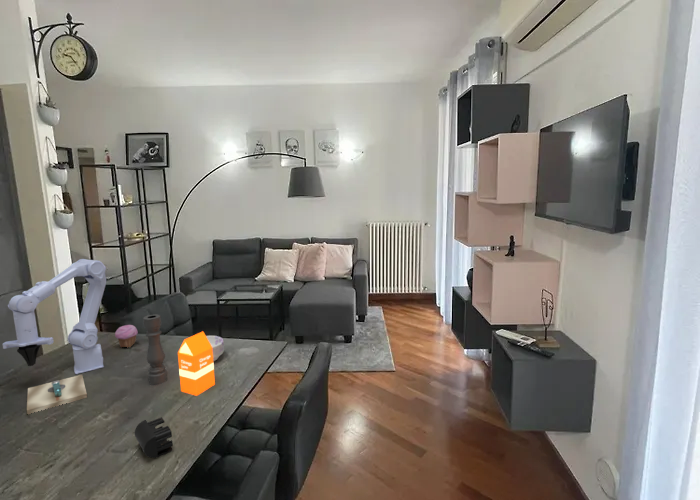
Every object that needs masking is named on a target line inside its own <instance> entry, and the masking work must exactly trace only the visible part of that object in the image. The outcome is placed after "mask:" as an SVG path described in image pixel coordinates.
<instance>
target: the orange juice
mask: <svg viewBox="0 0 700 500" xmlns="http://www.w3.org/2000/svg"><path fill="white" fill-rule="evenodd" d="M206 336H207V335H206V334H205V332H204V331H203V330H202V331H201V332H197V333H196V334H194V335H191V336H190V337H187V338H184V340H183V341H182V343H181V345H180V348H179V349H178V351H177V360H178V361H177V362H178V372H179V380H180V381H179V382H180V392H182V393H185V394H189V395H192V396H196V397H198V396H199V395H200V394H202V393H204V392H205V391H207V390H208V389H210V388H211V387H213V386H215V385H216V382H215V381H216V380H215V379H216V378H215V364H214V362H215V361H213V350H212V346H211V344H210V343H209V341H208V339H207V337H206Z"/></svg>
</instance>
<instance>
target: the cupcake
mask: <svg viewBox="0 0 700 500" xmlns="http://www.w3.org/2000/svg"><path fill="white" fill-rule="evenodd" d="M114 332H115V333H114V337H115V338H116V339H117V341H118V344H119V346H120V348H122V347H127V349H129V348H128V347H130V348H131V346H132V345H133V344H134V345H135V343H136V341H137V335H138V329H137V327H136V326H135V325H133V324H125V325H122V326H119V327H118V328H117V329H116V331H114ZM134 345H133V346H134ZM133 346H132V347H133Z"/></svg>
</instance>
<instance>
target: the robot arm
mask: <svg viewBox="0 0 700 500" xmlns="http://www.w3.org/2000/svg"><path fill="white" fill-rule="evenodd" d="M106 269H107V267H106V266H105V264H104V263H103V262H102V261H101V260H99V259H98V260H96V259H86V258H80V259H78V260H77V261H75V262H73V263H71V265H70V266H68V267H67V268H66V269H63V271H61V272H60V273H58V274H57V275H56V276H54V277H53V278H51V279H50V280H49V281H47V280H46V281H45V280H42V281H37V282H36V283H35V285H33V287H31V288H29V289H28V290H24V291H22V292H21V293H22V294H17V295H14V296H13V297H11V298H10V300H9V301H8V304H7V307H8V309H9V310H10V311H12V314H13V322H14V329H15V334H16V339H15V340H9V341H7V340H6V341H5V342H3V343H2V349H4V350H6V349H9V348H10V349H11V348H17V353H18V354H19V355H20V356H21V357H22V358H23V359H24V361H25V362H26V364H27V366H28V367H33V366H34V365H35V364H36V361H37V356H38V353H39V351H40V350H39V349H40V347H41V346H42V345H48V346H49V345H53V343H54V342H55V341H54V337H43V336H41V337H40V336H39V332H38V326H37V319H36V314H35V310H36V308H37V307H38V305H39V304H40V303H41V302H43V301H44V300H46V299H48V298H49V297H50V296H52V295H54V294H55V293H56V289H57V288H59V287H60V286H62V285H63V284H65V283H67V282H69V281H70V280H72V279H74V278H75V277H83V278H85V280H86V281H87V282H88V283H89V285H88V288H87V291H86V296H85V299H84V302H83V306H82V309H81V311H80V312H81V313H80V316H79V320H78V322H76V324H75V325H74V326H73V327H72V330H71V331H70V333H69V334H68V335H67V342H68V343H69V345H72V346H71V347H72V353H73V354H72V355H73V360H74V366H73V371H74V374H75V375H78V374H79V375H80V374H81V373H85V372H86V373H87V372H90V371H94V370H98V369H102V368H104V367H105V366H104V356H103V351H102V346H101V343H97V342H98V339H99V338H98V331H99V329H98V328H97V326H96V324H95V323H96V321H97V317H98V313H99V310H100V306H101V302H102V299H103V296H104V291H105V290H106V289H105V288H106V285H107V275H106Z"/></svg>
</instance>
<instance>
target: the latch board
mask: <svg viewBox="0 0 700 500" xmlns="http://www.w3.org/2000/svg"><path fill="white" fill-rule="evenodd" d="M83 377H84V376H83V374H79V375H78V374H77V375H74V376H70V377H67V378H63V379H60V380H59V381H60V385H61V386H60V387H61V393H62V395H60V396H55V393H54V389H52V384H51V383H52V382H53V381H51V382H47V383H43V384H39V385H35V386H30V387H28V388H27V396H26V397H27V398H26V401H27V402H26V415H27V414H28V415H31V413H32V414H35V413H38V411H39V412H42V411H44V410H45V409H46V410H49V409H51V408H52V407H53V408H56V407H59V405H60V406H63V405H66V403H67V404H70V403H72V402H78V401H79V400H84V399H87V398H88V394H87V389H86V386H85V380H84V378H83ZM62 404H63V405H62ZM55 406H56V407H55ZM48 408H49V409H48ZM41 410H42V411H41ZM46 410H45V411H46ZM34 412H35V413H34Z"/></svg>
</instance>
